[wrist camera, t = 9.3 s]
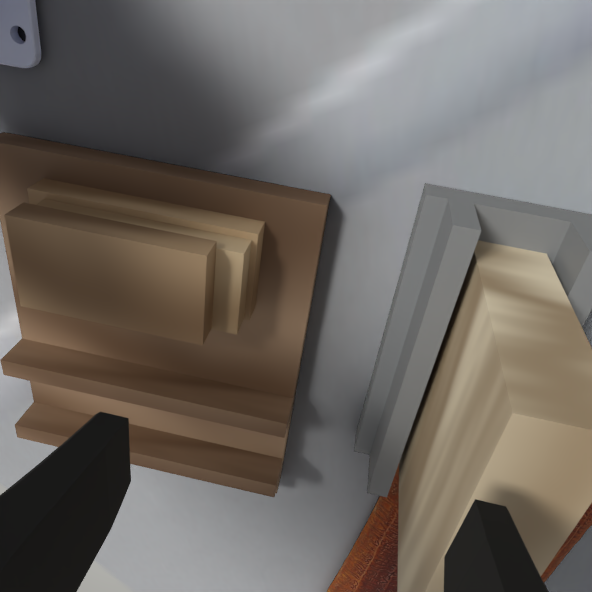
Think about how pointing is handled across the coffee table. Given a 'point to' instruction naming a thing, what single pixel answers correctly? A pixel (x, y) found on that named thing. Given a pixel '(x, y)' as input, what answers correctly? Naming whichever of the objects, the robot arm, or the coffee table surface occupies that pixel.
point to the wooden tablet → (384, 549)
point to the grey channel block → (454, 301)
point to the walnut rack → (165, 351)
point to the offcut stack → (134, 261)
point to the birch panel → (499, 417)
